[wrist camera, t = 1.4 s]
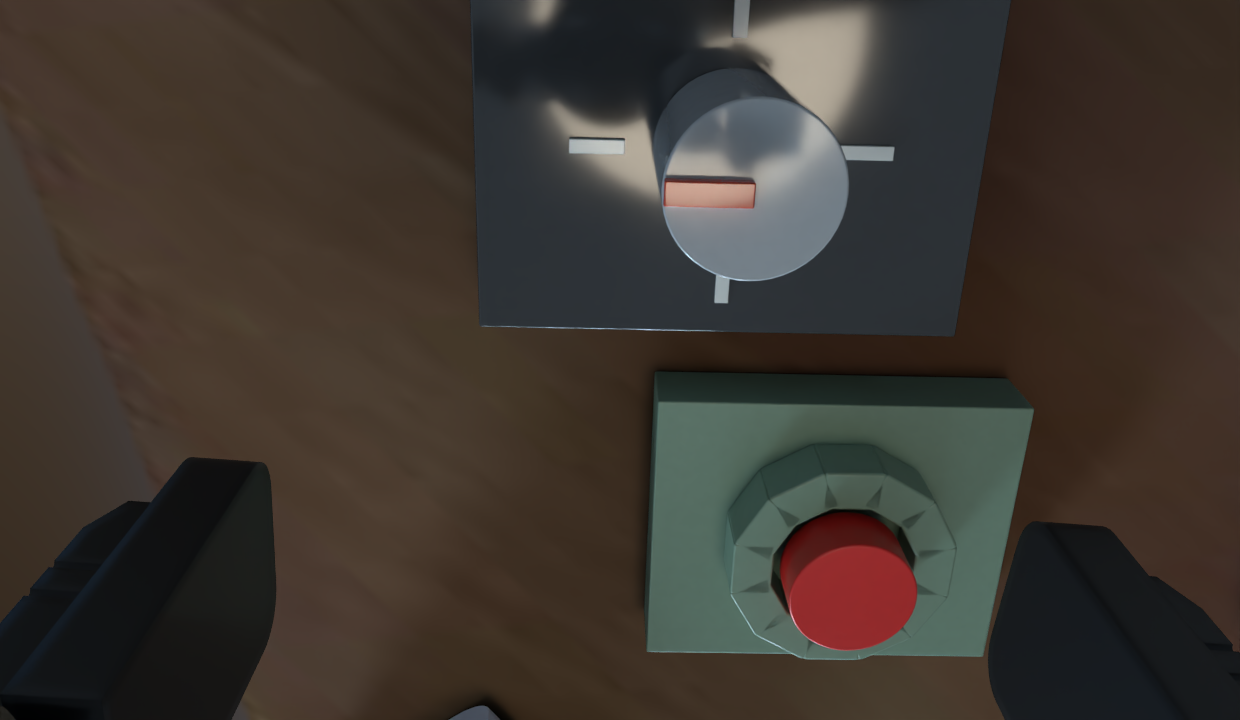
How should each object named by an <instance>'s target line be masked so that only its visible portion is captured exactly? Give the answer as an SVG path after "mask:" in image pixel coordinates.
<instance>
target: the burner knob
mask: <svg viewBox="0 0 1240 720" xmlns="http://www.w3.org/2000/svg"><path fill="white" fill-rule="evenodd" d="M653 162H654V168H655V173H656V178H657V184H658V189H659V194H660V199H661V204H662V209H663V214H664V217H665V221H666V224H667V226H668V229H669V231H670V233H671V235H672V237H673V239H674V240H675V242H676V243H677V245H678V246H679V247H680V249H681V250H682V251H683V252H684V253H685V254H686V255H687V256H688V257H689V258H690V259H691V260H692V261H693V262H694V263H696V264H697V265H699V266H700V267H702V268H703V269H705V270H707V271H709V272H711V273H713V274H715V275H718V276H721V277H724V278H728V279H733V280H739V281H762V280H768V279H773V278H776V277H780V276H783V275H785V274H788V273H790V272H792V271H795V270H796V269H798V268H800V267H801V266H803V265H805V264H806V263H808V262H809V261H810V260H812V259H813V258H814V257H815V256H816V255H817V254H818V253H819V252H820V251H822V250H823V249H824V247H825V246H826V245H827V244H828V242H829V241H830V240H831V239H832V237H833V235H834V234H835V232H836V231H837V229H838V227H839V225H840V223H841V220H842V218H843V215H844V212H845V209H846V206H847V201H848V195H849V173H848V167H847V162H846V158H845V155H844V153H843V150H842V147H841V145H840V143H839V142H838V140H837V138H836V136H835V135H834V133H833V132H832V131H831V129H830V128H829V127H828V126H827V125H826V124H825V123H824V122H823V121H822V120H821V119H820V118H819V117H818V116H817V115H816V114H815V113H814V112H813V111H812V110H811V109H810V108H808V107H807V106H806V105H805V104H804V103H803V102H802V101H801V100H800V99H799V98H798V97H797V96H795V95H794V94H793V93H792V92H791V91H790V90H789V89H788V88H787V87H786V86H784V85H783V84H782V83H780V82H779V81H778V80H776V79H774V78H773V77H771V76H769V75H767V74H764V73H762V72H759V71H755V70H751V69H744V68H726V69H720V70H715V71H712V72H709V73H706V74H704V75H702V76H699V77H697V78H695V79H694V80H692V81H691V82H689V83H688V84H686V85H685V86H684V87H683V88H681V89H680V90H679V91H678V92H677V93H676V94H675V95H674V96H673V98H672V99H671V100H670V101H669V103H668V104H667V106H666V107H665V109H664V110H663V112H662V114H661V116H660V118H659V121H658V124H657V126H656V130H655V134H654V139H653Z"/></svg>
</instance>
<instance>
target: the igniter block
mask: <svg viewBox="0 0 1240 720" xmlns="http://www.w3.org/2000/svg"><path fill="white" fill-rule="evenodd" d="M1033 413H1034V408H1033V407H1032V406H1031V405H1030V403H1029V402H1028V401H1027V400H1026V399H1025V398H1024V397H1023V396H1022V394H1021V393H1020V392H1019V391H1018V390H1017V389H1016V388H1015V386H1014V385H1013V384H1012V383H1011V382H1010V381H1009V380H1008V379H1006V378H956V377H906V376H857V375H807V374H757V373H707V372H655V380H654V402H653V424H652V447H651V469H650V491H649V514H648V536H647V558H646V580H645V603H644V616H645V634H646V650H647V652H696V653H769V654H793V655H795V656H797V657H799V658H804V659H829V660H857V659H858V658H859V659H863V658H865V657H868V656H870V655H913V656H983V654H984V649H985V644H986V639H987V634H988V630H989V625H990V620H991V615H992V610H993V606H994V601H995V596H996V591H997V586H998V582H999V577H1000V572H1001V567H1002V562H1003V558H1004V553H1005V548H1006V543H1007V538H1008V534H1009V529H1010V524H1011V519H1012V514H1013V509H1014V505H1015V500H1016V495H1017V490H1018V485H1019V481H1020V476H1021V471H1022V466H1023V461H1024V457H1025V452H1026V447H1027V442H1028V437H1029V433H1030V428H1031V423H1032V418H1033ZM838 512H853V513H860V514H864V515H867V516H870V517H873V518H875V519H877V520H879V521H880V522H882V523H883V524H885V525H886V526H887V527H888V528H889V529H890V530H891V531H892V532H893V533H894V535H895V536H896V538H897V540H898V542H899V544H900V546H901V548H902V550H903V552H904V554H905V557H906V559H907V561H908V563H909V565H910V567H911V569H912V571H913V574H914V576H915V579H916V583H917V601H916V605H915V608H914V610H913V613H912V615H911V616H910V618H909V620H908V621H907V623H906V624H905V625H904V626H903V627H902V628H901V629H900V630H899V631H898V632H897V633H896V634H895V635H893V636H892V637H891V638H889V639H887V640H886V641H884V642H882V643H880V644H878V645H875V646H872V647H869V648H865V649H860V650H850V651H844V650H835V649H830V648H826V647H823V646H821V645H818V644H816V643H814V642H813V641H811V640H809V639H808V638H807V637H806V636H804V635H803V634H802V633H801V632H800V631H799V630H798V628H797V627H796V625H795V624H794V622H793V620H792V618H791V614H790V611H789V607H788V603H787V600H786V596H785V592H784V588H783V585H782V581H781V577H780V561H781V556H782V553H783V550H784V548H785V547H786V545H787V543H788V541H789V540H790V539H791V537H792V536H793V535H794V534H795V533H796V532H797V531H798V530H799V529H800V528H801V527H803V526H804V525H806V524H807V523H808V522H810V521H812V520H814V519H816V518H819V517H821V516H824V515H828V514H832V513H838Z"/></svg>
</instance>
